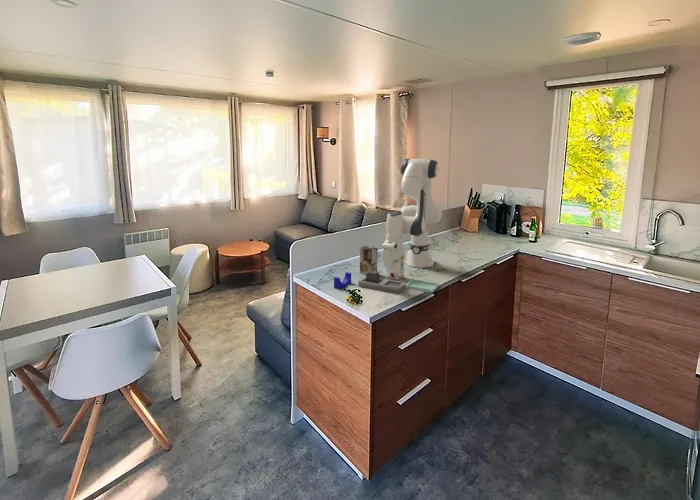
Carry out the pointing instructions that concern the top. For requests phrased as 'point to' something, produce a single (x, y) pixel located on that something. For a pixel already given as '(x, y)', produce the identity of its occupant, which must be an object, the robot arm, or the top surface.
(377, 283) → the grey compartment holder
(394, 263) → the plug
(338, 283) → the cable clip
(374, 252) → the coffee box
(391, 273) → the juice carton
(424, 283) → the tray
